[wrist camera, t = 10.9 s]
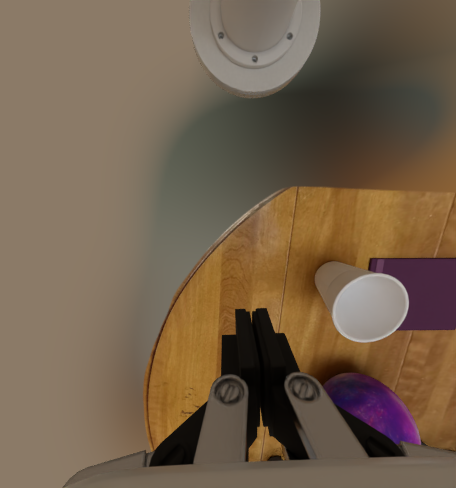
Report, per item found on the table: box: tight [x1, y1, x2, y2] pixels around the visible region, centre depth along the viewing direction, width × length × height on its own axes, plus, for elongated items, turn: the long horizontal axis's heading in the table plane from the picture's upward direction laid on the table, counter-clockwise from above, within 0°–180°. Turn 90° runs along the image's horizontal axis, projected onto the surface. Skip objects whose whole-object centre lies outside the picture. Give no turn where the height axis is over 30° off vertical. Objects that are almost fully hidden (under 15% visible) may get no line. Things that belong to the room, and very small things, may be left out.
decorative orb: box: [322, 373, 421, 445], centre depth 37 cm, size 15×15×15 cm
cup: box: [315, 261, 409, 342], centre depth 34 cm, size 10×10×11 cm
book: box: [368, 258, 456, 330], centre depth 40 cm, size 14×18×1 cm
